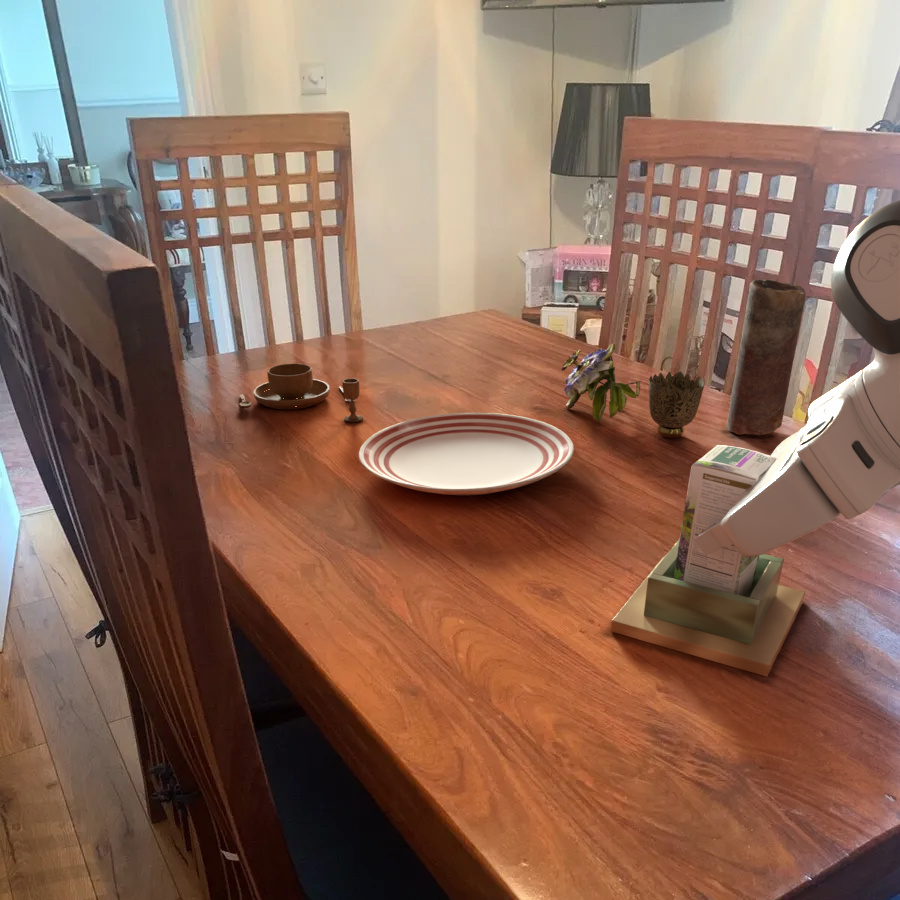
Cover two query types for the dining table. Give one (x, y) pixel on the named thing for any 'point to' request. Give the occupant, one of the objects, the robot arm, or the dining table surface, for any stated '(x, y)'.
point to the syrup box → (718, 518)
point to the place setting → (300, 390)
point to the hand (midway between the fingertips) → (717, 524)
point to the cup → (674, 402)
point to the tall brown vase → (765, 357)
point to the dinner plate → (466, 453)
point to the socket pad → (713, 616)
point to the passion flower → (591, 375)
